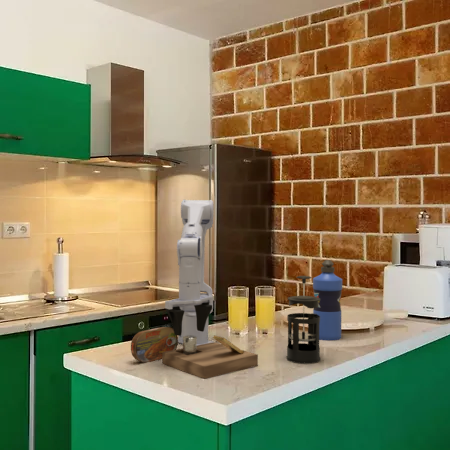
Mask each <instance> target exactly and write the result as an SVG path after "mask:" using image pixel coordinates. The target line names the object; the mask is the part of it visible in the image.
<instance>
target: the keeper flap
mask: <svg viewBox="0 0 450 450" xmlns="http://www.w3.org/2000/svg"><path fill="white" fill-rule="evenodd" d="M212 339H213V340H215V341H216V342H217V343H219V344H222V345H224V346H225V347H226V348H228V349H229V350H231V351H233V352H237V353H240V354H243V353H244V351H245V350H243V349H241V348H239V347H237V346H236V345H235V344H233V343H232V342H230V341H229V340H228V339H226V338H225V337H223V336H217V335H213V337H212Z"/></svg>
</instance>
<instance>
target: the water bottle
mask: <svg viewBox="0 0 450 450" xmlns="http://www.w3.org/2000/svg"><path fill="white" fill-rule="evenodd" d="M321 265H322V266H321V267H320V272H321V273H320V274H319V275H317V276H315V277H313V278H312V289H313V297H317V298H320V301H319V307H317V308H312V309H313V310H312V313H313V314H317V315H319V316H320V322H319V341H337V340H338V341H339V340H341V339H342V306H341V298H342V290H343V278H341V277H339V276H338V275H336V274H335V267H334V265H335V264H334V262H333V261H332V260H331V259H325V260H324V261H323V262H322V263H321Z"/></svg>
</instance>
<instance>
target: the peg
mask: <svg viewBox="0 0 450 450" xmlns="http://www.w3.org/2000/svg"><path fill="white" fill-rule="evenodd" d="M182 346H183V347H182V348H183V354H185V355H190V354H195V353H197V337H196V336H192V335H188V336H184V337H183V344H182Z"/></svg>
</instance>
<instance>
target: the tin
mask: <svg viewBox="0 0 450 450" xmlns="http://www.w3.org/2000/svg"><path fill="white" fill-rule="evenodd" d="M130 342H131V343H130V350H131V351H130V352H131V356H132V357H133V358H134V359H135V360H136V361H138V362H142V363H145V364H146V363H151V362H154V361H159V360H162V352H166V351H171V350H176V349H178V345H179V342H178V335H175V333H174V329H173V327H169V326H167V327H165V326H162V327H155V328H151V329H146V330H142V331H138V332H137V333H136V334H135V335H134V336H133V338H132V340H131V341H130Z"/></svg>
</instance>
